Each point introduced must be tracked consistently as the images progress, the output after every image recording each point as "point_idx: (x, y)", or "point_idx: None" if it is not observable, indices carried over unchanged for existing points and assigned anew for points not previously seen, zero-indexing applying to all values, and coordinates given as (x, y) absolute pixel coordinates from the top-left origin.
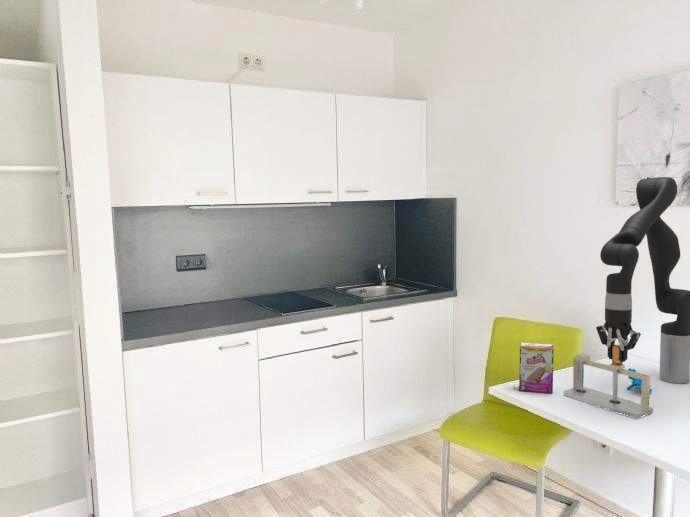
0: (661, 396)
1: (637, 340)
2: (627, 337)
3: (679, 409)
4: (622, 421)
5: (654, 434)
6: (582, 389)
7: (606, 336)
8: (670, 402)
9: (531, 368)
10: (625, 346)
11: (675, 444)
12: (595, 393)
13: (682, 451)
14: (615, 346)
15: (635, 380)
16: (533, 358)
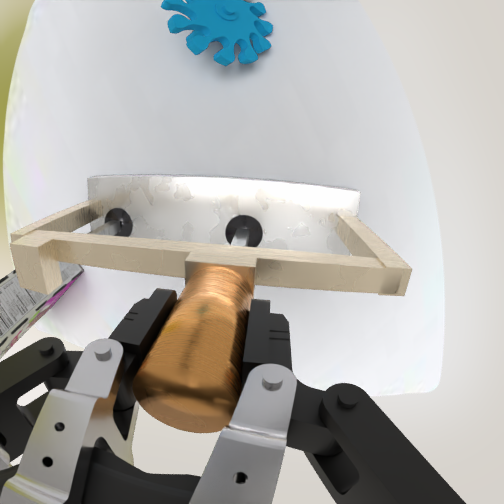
0: (304, 21)
1: (429, 474)
2: (272, 495)
3: (396, 102)
4: (315, 318)
5: (395, 329)
6: (119, 226)
7: (18, 394)
8: (352, 55)
9: (24, 332)
10: (290, 445)
11: (431, 338)
12: (156, 207)
13: (440, 353)
14: (187, 425)
15: (220, 36)
16: (7, 349)
